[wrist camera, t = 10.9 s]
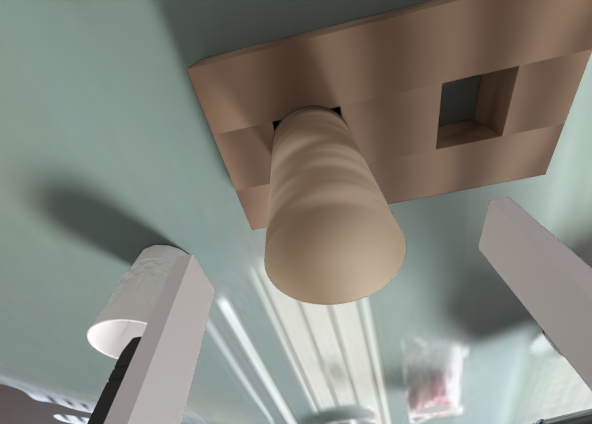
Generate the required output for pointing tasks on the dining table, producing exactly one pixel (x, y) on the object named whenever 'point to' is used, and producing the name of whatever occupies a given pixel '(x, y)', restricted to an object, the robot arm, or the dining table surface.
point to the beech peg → (327, 214)
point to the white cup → (132, 300)
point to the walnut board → (407, 93)
